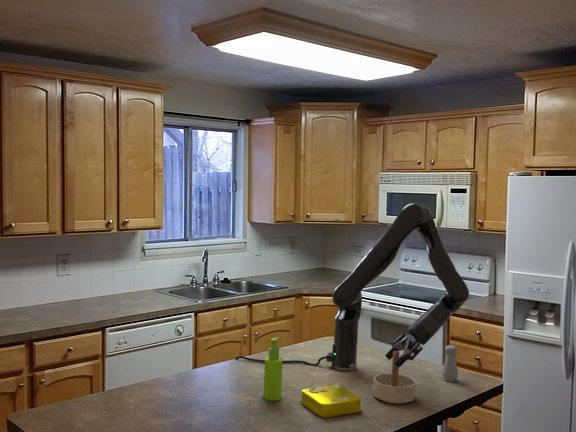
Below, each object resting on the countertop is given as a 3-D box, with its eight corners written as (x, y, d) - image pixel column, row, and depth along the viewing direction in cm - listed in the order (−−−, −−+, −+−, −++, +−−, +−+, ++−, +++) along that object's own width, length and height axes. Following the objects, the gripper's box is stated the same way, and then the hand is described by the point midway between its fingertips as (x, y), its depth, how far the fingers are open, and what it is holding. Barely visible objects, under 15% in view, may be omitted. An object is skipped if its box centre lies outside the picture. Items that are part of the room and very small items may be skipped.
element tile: (322, 419, 179) (323, 403, 179) (299, 402, 192) (299, 387, 192) (363, 412, 186) (363, 397, 186) (337, 395, 199) (338, 382, 199)
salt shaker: (456, 378, 223) (458, 344, 223) (459, 383, 218) (461, 348, 217) (440, 377, 224) (442, 343, 223) (443, 382, 218) (444, 347, 217)
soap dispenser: (284, 395, 198) (286, 336, 197) (277, 401, 192) (279, 341, 191) (268, 392, 200) (270, 334, 199) (260, 399, 194) (263, 339, 193)
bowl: (370, 402, 195) (371, 384, 195) (374, 388, 209) (375, 371, 208) (414, 407, 192) (415, 389, 191) (415, 392, 205) (416, 376, 205)
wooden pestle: (387, 396, 199) (389, 352, 198) (388, 392, 203) (390, 349, 202) (400, 398, 197) (402, 354, 197) (401, 393, 202) (403, 350, 201)
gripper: (409, 315, 207) (377, 348, 205) (426, 325, 193) (392, 360, 192) (422, 330, 209) (390, 362, 207) (441, 341, 195) (406, 376, 193)
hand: (391, 361), depth 199 cm, fingers open, 8 cm apart
